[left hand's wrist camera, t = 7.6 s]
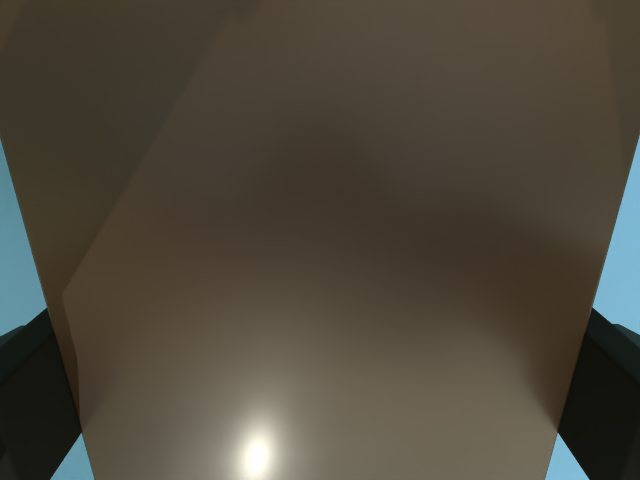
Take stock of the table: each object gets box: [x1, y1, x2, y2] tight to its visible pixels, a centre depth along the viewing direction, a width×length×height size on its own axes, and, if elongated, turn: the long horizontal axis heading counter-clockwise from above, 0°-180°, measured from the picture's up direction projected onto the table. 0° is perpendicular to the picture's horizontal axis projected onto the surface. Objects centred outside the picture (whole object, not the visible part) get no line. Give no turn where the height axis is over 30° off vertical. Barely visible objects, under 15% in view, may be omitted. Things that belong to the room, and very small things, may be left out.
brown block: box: [0, 0, 640, 480], centre depth 11 cm, size 17×11×8 cm, turn 0°
